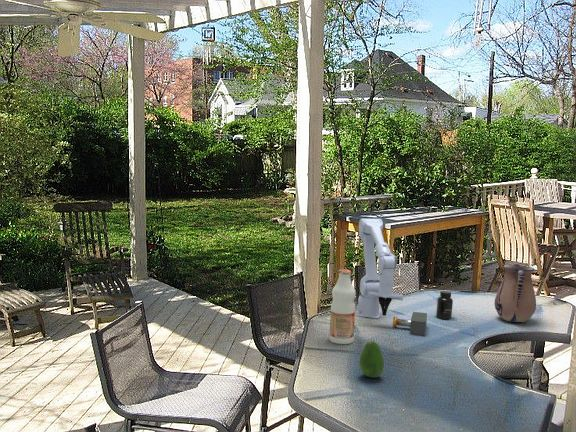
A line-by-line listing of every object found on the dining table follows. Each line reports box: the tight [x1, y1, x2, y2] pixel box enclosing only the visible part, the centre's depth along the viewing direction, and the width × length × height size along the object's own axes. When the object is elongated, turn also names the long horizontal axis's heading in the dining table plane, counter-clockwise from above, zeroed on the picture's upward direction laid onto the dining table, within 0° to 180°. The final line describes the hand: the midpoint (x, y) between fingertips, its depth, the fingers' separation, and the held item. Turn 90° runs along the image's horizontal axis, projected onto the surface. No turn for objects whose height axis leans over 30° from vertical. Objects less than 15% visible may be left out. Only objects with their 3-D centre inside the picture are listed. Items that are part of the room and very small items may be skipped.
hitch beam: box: [409, 311, 428, 337], centre depth 250 cm, size 6×14×6 cm, turn 165°
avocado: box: [359, 340, 385, 379], centre depth 196 cm, size 8×8×12 cm
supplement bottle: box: [435, 290, 454, 321], centre depth 270 cm, size 7×7×12 cm
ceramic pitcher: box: [494, 263, 537, 323], centre depth 268 cm, size 18×21×25 cm
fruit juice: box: [328, 268, 356, 345], centre depth 231 cm, size 9×9×28 cm
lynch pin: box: [392, 316, 411, 328], centre depth 251 cm, size 12×4×4 cm, turn 75°
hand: (384, 315), depth 254 cm, fingers closed
